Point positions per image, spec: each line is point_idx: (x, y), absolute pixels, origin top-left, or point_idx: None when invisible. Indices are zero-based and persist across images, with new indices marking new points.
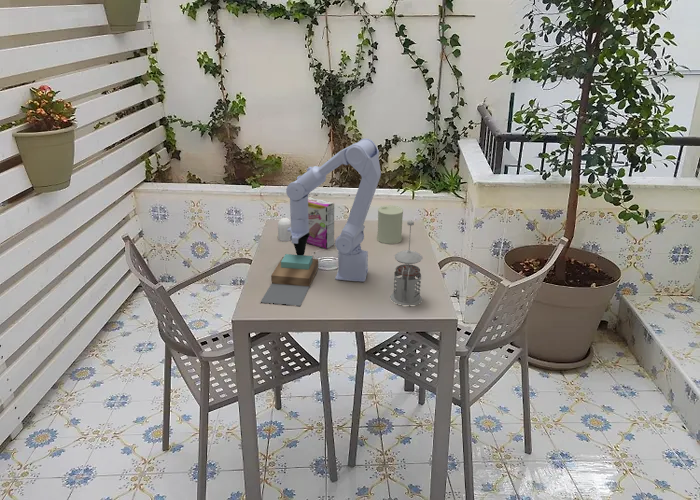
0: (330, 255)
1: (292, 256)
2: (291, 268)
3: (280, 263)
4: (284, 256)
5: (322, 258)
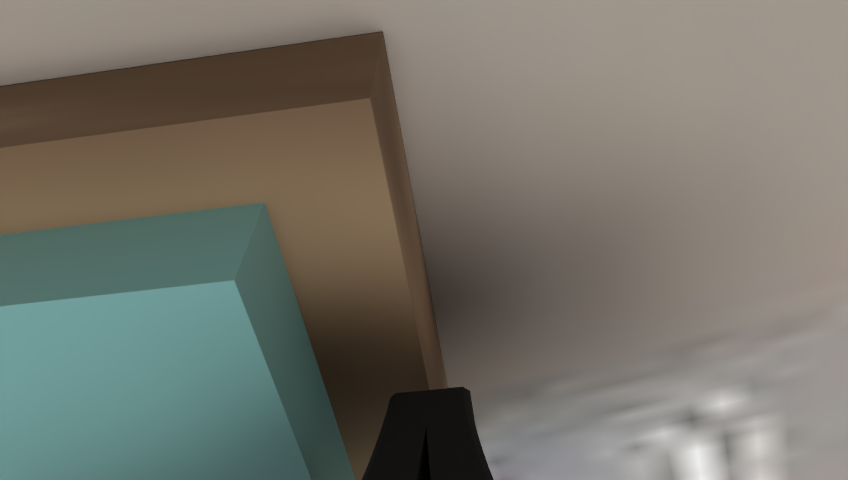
0: (820, 471)
1: (197, 421)
2: None
3: (46, 177)
4: (102, 303)
5: (724, 428)
